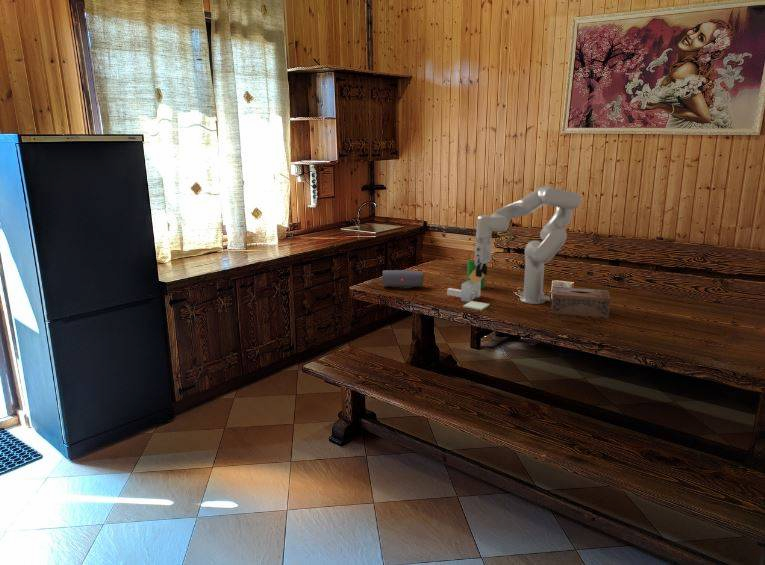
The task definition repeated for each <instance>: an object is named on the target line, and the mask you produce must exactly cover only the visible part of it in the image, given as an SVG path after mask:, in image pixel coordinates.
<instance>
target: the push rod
mask: <svg viewBox="0 0 765 565" xmlns="http://www.w3.org/2000/svg"><path fill="white" fill-rule="evenodd" d="M446 290H447V291H446V296H450V295H451V296H450V297H455V296H456V298H461V289H457V288H450V287H448V288H447V289H446ZM475 298H476V297H475V292H472V301H474V299H475Z"/></svg>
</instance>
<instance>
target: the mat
mask: <svg viewBox="0 0 765 565" xmlns="http://www.w3.org/2000/svg"><path fill="white" fill-rule="evenodd" d="M462 306H463V308H466V309H472V310H477V311H483V310H485V309H487V308H489V307H490V306H491V305H490V303H487V302H480V301H474V300H472V301H471V302H466V303H465V304H463V305H462Z"/></svg>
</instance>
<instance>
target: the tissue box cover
mask: <svg viewBox="0 0 765 565" xmlns="http://www.w3.org/2000/svg"><path fill="white" fill-rule="evenodd" d="M551 295H552V297H551V314H553V313H555V315H564V314H568V315H567V316H576V315H580V317H588V316H593V317H592V318H600V317H604V318H603V319H609V317H610V310H611V309H610V308H611V301H612V300H611V298H612V297H611V295H610V292H609V290H607V289H592V288H579V287H578V288H577V287H565V286H552V294H551Z"/></svg>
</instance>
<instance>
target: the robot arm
mask: <svg viewBox="0 0 765 565" xmlns="http://www.w3.org/2000/svg"><path fill="white" fill-rule="evenodd" d="M581 203H582V198H581V196H580V194H579V193H577V192H574V191H570V190H565V189H564V190H563V189H559V188H555V187H551V186H548V185H547V186H546V185H543V186H540V187H538V188H537V189H534V191H531V192H530V193H529V194H527V195H526V196H524V197H522V198H520V199H519V200H516V201H515V202H512V203H510V204H507V205H505V206H503V207H502V208H501V207H500V208H499V209H498V210H496V211H495V212H493V213H492V214H491V215H489V214H487V215H486V214H483V215H482V214H481V215H478V216H477V218H476V234H475V243H476V245H475V250H474V261H475V263H474V264H475V266H476V276H477V277H482V273H483V274H484V275H485V276H487V275H488V266H489V263H490V262H491V261H492V234H493V233H492V232H493V231H497V232H504V231H507V230H508V228H510V220H512V219H515V218H519V217H525V216H528V215H531V214H532V213H534V212H535V211H537V210H538V209H540V208H542V207H543V206H544V205H547V206H551V207H555V211H554V214H553V215H552V217H551V218H550V219H549V221H547V223H546V224H544V226H543V228H542V229H541V230H540V233H539V236H540V238H541V240H542V241H540V240H531V241H529V242H528V243H527V244H526V245H525V248H524V262H525V263H524V279H523V280H524V282H523V291H522V292H523V293H522V296H520V297H519V300H520V302H522V303H525V304H530V305H540V304H541V305H542V304H544V303H546V301H548V302H550V300H551V297H550V296H549V295H545V292H543V289H544V275H545V263H548V262H549V261H552V259H553V258H554V257H555V256H556V254H557V253H558V252H559V251H560V249H561V248H562V247H563V246H564V244H565V243H566V241H567V236H568V234H567V231H566V230H565V229H566V228H567V226H568V225H569V224H570V222H571V220H572V218H573V211H574V210H575V209H578V207H580V206H581ZM478 262H480V263H478ZM479 264H480V265H479Z"/></svg>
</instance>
